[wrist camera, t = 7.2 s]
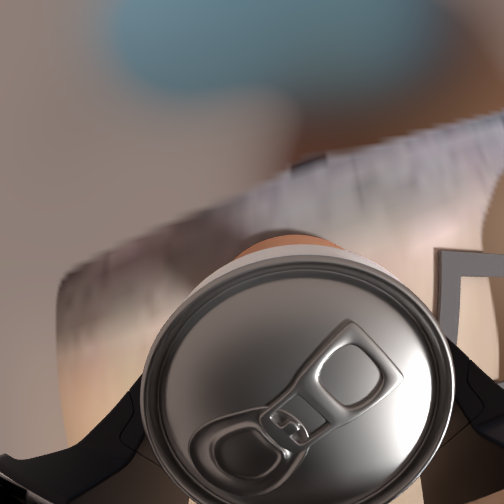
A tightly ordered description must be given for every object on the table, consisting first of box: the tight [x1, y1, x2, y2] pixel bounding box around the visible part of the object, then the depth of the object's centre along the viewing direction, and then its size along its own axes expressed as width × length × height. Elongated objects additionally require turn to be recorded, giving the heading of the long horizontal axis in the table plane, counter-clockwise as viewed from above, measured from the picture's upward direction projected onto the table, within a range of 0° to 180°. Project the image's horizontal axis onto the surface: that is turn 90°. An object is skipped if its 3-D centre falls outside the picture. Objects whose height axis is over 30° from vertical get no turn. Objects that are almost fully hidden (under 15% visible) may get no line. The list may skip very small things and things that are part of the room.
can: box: [140, 244, 455, 504], centre depth 10 cm, size 6×6×12 cm
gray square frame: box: [437, 251, 504, 389], centre depth 19 cm, size 14×14×1 cm
